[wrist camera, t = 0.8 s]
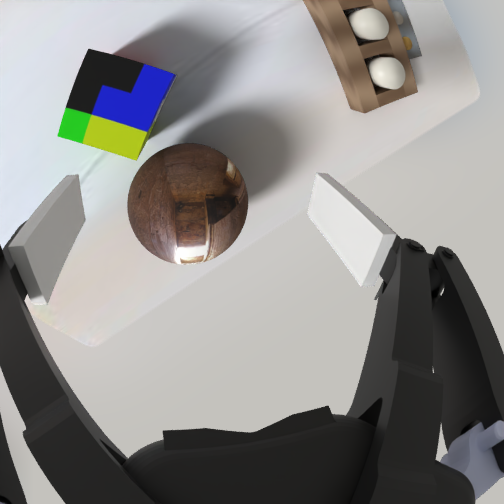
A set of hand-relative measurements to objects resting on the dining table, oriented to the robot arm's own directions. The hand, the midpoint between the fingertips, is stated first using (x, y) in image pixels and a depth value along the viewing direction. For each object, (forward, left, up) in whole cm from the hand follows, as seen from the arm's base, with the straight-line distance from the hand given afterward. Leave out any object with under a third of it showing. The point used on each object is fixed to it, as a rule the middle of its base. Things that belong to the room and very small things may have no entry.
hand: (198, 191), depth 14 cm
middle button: (-23, +18, -23) cm, 37 cm away
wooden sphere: (+9, +2, -26) cm, 28 cm away
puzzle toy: (-2, -9, -26) cm, 28 cm away
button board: (-25, +20, -26) cm, 41 cm away
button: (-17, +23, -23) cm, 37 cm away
